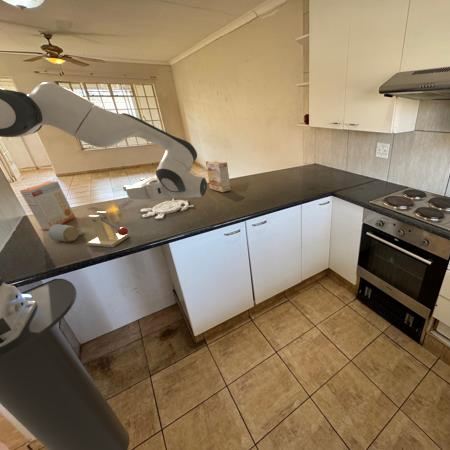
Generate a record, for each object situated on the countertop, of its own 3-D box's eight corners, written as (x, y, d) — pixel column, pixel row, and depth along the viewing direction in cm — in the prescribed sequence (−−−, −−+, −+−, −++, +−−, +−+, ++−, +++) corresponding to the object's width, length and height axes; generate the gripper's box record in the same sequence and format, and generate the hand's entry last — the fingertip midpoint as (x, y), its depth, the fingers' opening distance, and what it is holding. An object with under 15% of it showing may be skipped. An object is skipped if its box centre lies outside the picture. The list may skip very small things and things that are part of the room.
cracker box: (65, 217, 135) (47, 180, 125) (76, 217, 135) (58, 180, 125) (40, 229, 123) (18, 190, 113) (52, 230, 122) (30, 190, 113)
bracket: (128, 236, 116) (118, 210, 110) (113, 247, 108) (101, 219, 102) (105, 235, 117) (94, 209, 111) (89, 245, 110) (75, 217, 103)
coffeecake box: (209, 188, 176) (205, 161, 168) (218, 186, 181) (214, 159, 173) (222, 192, 168) (218, 163, 160) (231, 190, 173) (227, 161, 165)
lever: (128, 234, 112) (130, 228, 110) (122, 238, 109) (124, 232, 107) (99, 216, 109) (100, 211, 108) (91, 220, 106) (93, 214, 105)
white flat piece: (198, 204, 150) (198, 202, 150) (153, 222, 130) (152, 219, 129) (178, 197, 161) (178, 195, 160) (133, 212, 140) (132, 210, 140)
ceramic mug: (68, 245, 110) (60, 229, 106) (52, 243, 111) (44, 228, 107) (89, 233, 119) (83, 219, 116) (74, 232, 120) (67, 218, 117)
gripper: (179, 170, 103) (148, 169, 105) (146, 186, 85) (110, 184, 87) (182, 184, 106) (153, 183, 108) (151, 202, 88) (116, 201, 90)
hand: (133, 184), depth 97 cm, fingers open, 8 cm apart
